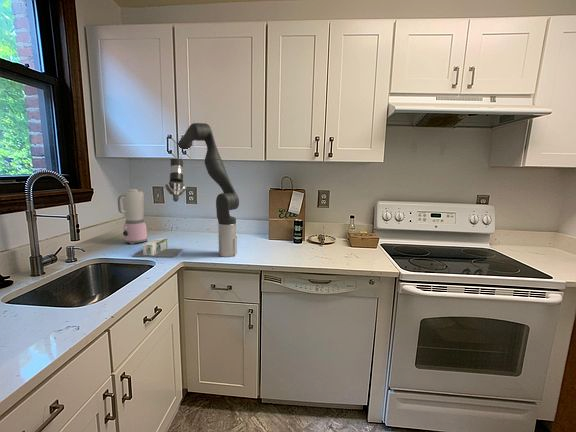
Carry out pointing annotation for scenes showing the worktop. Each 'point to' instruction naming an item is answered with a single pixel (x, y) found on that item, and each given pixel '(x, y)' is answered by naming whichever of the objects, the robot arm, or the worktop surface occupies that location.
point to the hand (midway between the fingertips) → (175, 201)
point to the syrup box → (155, 246)
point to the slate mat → (160, 253)
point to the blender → (133, 216)
